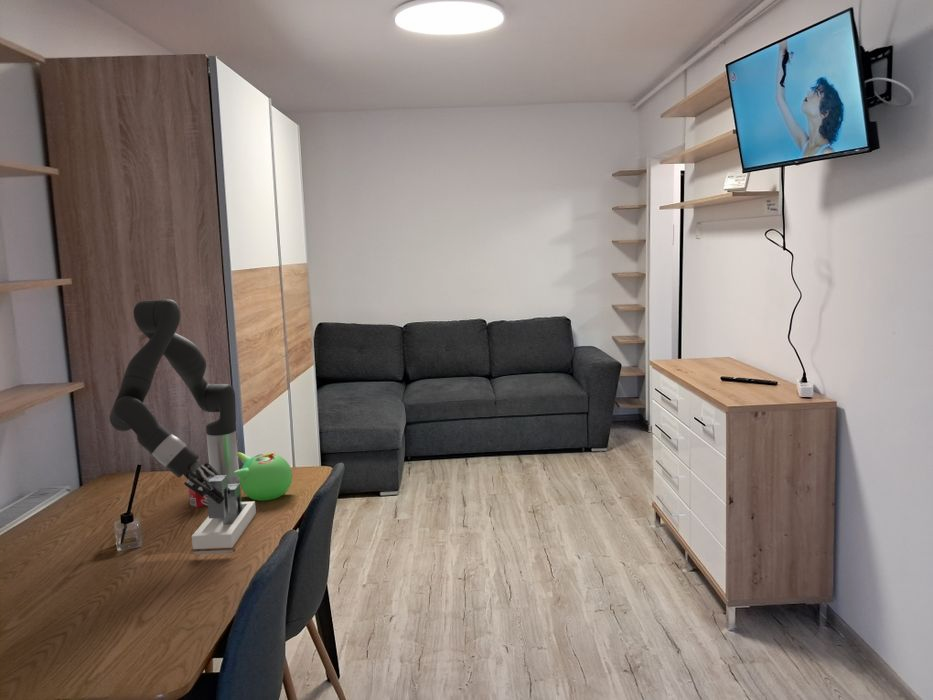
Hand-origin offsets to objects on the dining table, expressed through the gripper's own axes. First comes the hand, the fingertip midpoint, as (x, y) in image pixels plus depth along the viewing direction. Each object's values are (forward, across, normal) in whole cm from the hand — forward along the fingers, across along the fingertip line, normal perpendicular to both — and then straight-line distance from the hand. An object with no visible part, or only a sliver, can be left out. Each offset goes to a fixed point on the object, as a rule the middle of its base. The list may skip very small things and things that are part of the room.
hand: (225, 497), depth 195 cm
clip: (+2, 0, +5) cm, 5 cm away
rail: (+7, +4, +10) cm, 13 cm away
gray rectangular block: (+6, +11, +9) cm, 15 cm away
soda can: (-2, +27, +20) cm, 33 cm away
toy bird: (+10, +32, +7) cm, 35 cm away
